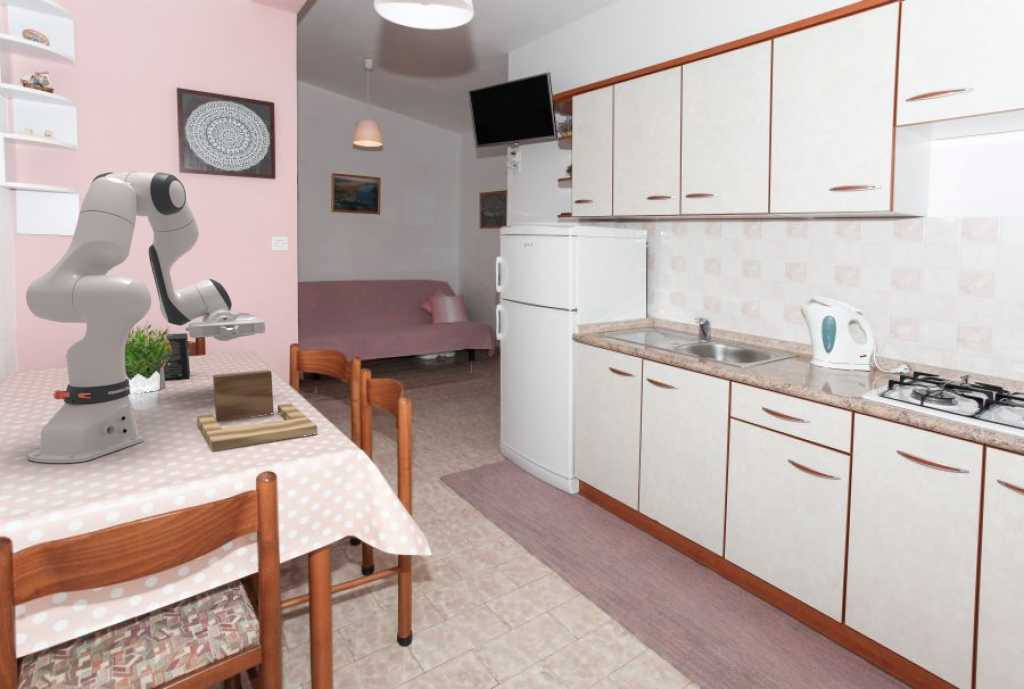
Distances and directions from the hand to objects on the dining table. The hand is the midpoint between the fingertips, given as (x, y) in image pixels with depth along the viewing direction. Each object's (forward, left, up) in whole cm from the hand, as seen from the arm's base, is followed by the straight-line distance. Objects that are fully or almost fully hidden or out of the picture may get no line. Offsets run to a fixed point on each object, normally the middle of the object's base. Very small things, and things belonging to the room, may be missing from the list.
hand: (232, 331), depth 171 cm
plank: (-9, -8, -22) cm, 25 cm away
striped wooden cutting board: (-20, -17, -22) cm, 34 cm away
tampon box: (+33, +42, -22) cm, 57 cm away
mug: (+15, +40, -22) cm, 48 cm away
